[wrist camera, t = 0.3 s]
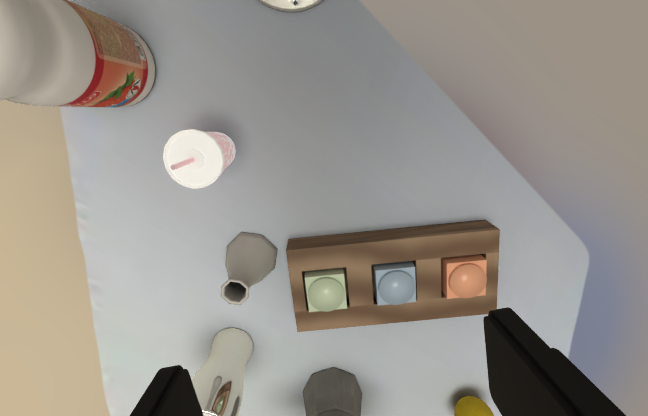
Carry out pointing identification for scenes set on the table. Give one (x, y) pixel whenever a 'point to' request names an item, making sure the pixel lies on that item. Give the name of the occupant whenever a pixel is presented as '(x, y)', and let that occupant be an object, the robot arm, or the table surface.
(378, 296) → the slate blue button
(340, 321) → the button panel
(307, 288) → the sage green button
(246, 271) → the flask
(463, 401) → the lemon
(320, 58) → the table surface
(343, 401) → the coffeepot
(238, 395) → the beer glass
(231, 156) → the beverage cup
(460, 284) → the terracotta button
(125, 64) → the fruit juice
